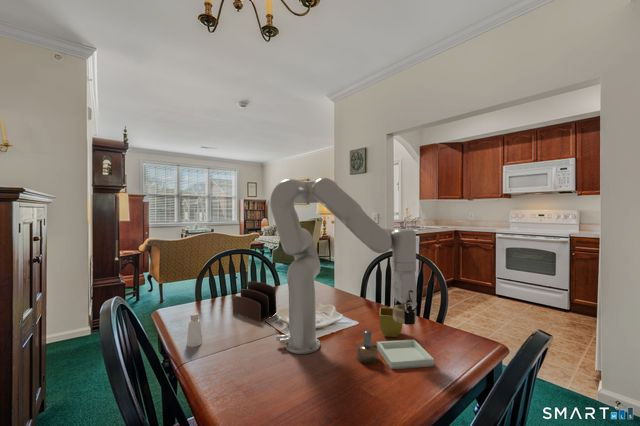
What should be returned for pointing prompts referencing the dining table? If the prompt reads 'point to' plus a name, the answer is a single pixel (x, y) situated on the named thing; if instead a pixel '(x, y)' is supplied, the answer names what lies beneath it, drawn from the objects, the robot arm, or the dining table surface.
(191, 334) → the salt shaker
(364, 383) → the dining table surface
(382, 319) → the flower pot
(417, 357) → the tray
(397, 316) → the birch ring
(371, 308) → the dining table surface
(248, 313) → the letter holder
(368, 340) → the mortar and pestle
